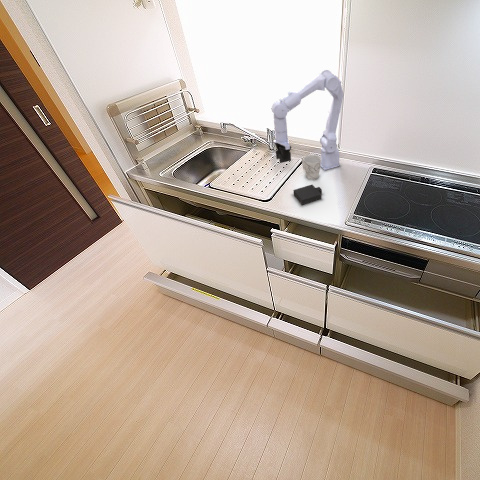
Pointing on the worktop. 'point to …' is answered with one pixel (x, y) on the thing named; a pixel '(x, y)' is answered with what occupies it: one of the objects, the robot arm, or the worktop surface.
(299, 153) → the worktop surface
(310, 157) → the mug
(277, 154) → the pad
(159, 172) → the worktop surface
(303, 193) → the base pad
